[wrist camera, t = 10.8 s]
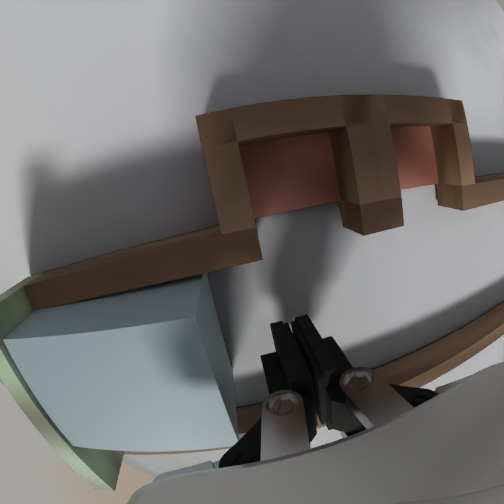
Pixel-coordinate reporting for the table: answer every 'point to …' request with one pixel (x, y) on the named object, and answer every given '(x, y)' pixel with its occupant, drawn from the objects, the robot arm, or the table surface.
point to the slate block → (132, 369)
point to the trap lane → (273, 202)
